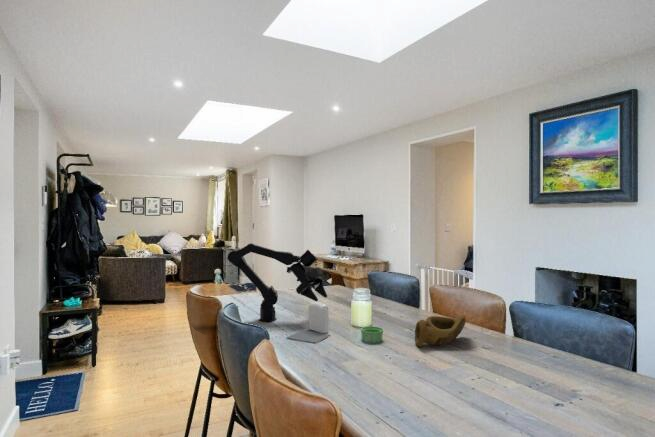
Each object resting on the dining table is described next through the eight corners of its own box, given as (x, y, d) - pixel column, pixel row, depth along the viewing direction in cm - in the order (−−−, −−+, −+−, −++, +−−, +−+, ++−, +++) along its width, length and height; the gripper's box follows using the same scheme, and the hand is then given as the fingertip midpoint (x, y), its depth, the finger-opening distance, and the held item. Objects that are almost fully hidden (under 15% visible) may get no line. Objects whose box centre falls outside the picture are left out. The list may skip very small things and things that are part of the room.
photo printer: (307, 329, 173) (307, 300, 173) (315, 327, 176) (315, 299, 176) (322, 334, 165) (322, 304, 165) (330, 332, 168) (330, 303, 168)
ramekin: (357, 341, 156) (357, 330, 156) (365, 335, 164) (365, 325, 164) (378, 344, 152) (378, 333, 152) (386, 338, 160) (386, 327, 160)
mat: (286, 338, 159) (286, 337, 159) (301, 331, 170) (301, 330, 170) (316, 343, 153) (316, 342, 153) (330, 335, 163) (330, 334, 163)
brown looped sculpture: (484, 332, 143) (424, 321, 143) (474, 362, 147) (416, 351, 147) (470, 306, 161) (416, 296, 161) (461, 333, 165) (409, 324, 165)
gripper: (301, 264, 177) (323, 290, 172) (321, 260, 194) (341, 284, 189) (286, 280, 181) (308, 307, 176) (307, 275, 198) (327, 299, 193)
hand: (322, 298), depth 183 cm, fingers open, 9 cm apart
